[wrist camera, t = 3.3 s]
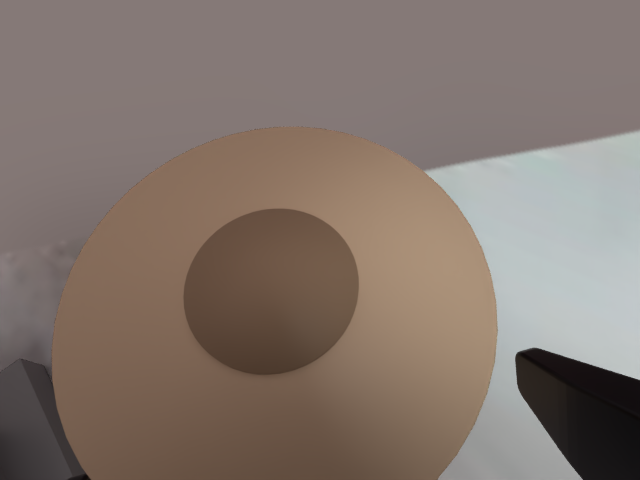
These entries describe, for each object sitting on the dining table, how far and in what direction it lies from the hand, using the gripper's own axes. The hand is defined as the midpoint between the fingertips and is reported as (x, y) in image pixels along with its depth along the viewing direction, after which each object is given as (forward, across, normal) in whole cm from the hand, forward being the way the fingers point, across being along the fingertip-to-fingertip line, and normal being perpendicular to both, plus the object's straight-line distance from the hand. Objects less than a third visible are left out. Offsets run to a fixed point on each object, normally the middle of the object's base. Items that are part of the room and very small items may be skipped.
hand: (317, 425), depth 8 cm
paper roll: (+8, 0, +5) cm, 9 cm away
